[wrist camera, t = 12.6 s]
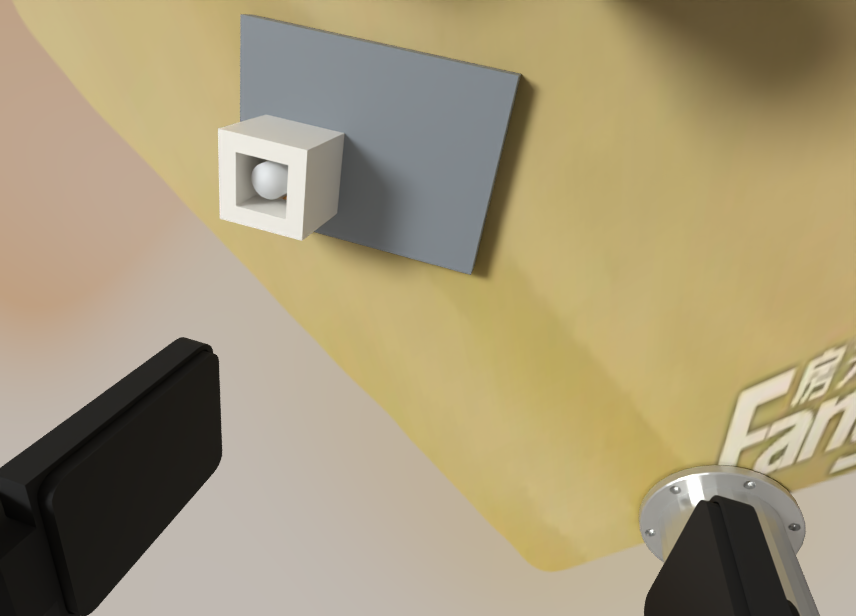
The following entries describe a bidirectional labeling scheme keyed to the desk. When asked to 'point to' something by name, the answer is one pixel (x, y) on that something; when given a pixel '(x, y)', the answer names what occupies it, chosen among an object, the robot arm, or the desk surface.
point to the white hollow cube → (307, 174)
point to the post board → (385, 134)
